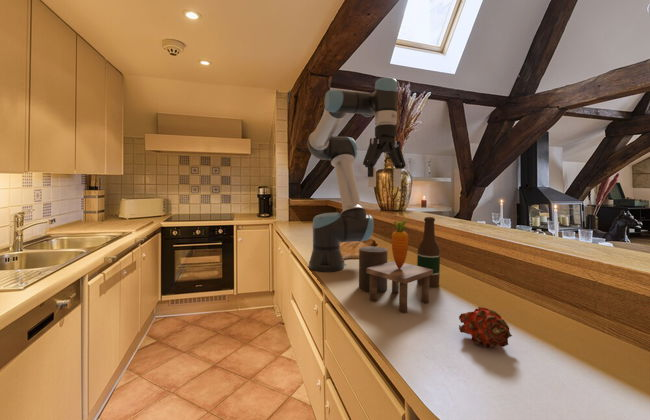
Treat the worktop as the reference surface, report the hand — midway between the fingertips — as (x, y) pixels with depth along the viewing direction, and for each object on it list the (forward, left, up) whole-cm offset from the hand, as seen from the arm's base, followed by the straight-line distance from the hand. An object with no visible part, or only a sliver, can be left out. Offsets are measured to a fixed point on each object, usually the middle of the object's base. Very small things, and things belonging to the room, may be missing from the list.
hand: (385, 186), depth 107 cm
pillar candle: (+1, -7, -35) cm, 36 cm away
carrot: (+14, -10, -25) cm, 30 cm away
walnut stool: (+14, -10, -35) cm, 39 cm away
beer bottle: (+11, +11, -35) cm, 38 cm away
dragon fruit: (+41, -16, -35) cm, 56 cm away
